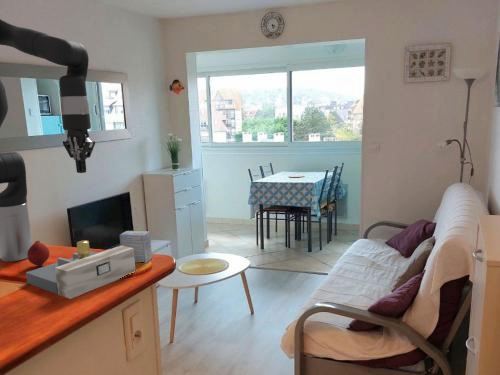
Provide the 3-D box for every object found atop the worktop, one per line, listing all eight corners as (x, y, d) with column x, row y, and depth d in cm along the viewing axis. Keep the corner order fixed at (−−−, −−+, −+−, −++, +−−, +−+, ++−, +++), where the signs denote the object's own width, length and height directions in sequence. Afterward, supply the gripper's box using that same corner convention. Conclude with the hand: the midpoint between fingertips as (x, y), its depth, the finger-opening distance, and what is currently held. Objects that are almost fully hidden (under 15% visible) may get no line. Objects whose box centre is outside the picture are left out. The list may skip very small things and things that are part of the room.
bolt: (73, 267, 113) (71, 241, 112) (83, 263, 116) (81, 239, 115) (99, 274, 107) (96, 248, 106) (108, 270, 109) (106, 244, 108)
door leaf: (27, 283, 112) (24, 264, 111) (92, 260, 128) (91, 244, 127) (57, 294, 104) (54, 274, 103) (122, 268, 120) (121, 251, 119)
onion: (41, 270, 121) (38, 243, 120) (24, 269, 122) (20, 242, 121) (54, 263, 127) (51, 237, 126) (38, 262, 128) (34, 237, 127)
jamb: (58, 294, 104) (54, 267, 102) (123, 269, 120) (121, 245, 119) (69, 299, 101) (66, 271, 100) (135, 272, 117) (133, 248, 116)
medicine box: (152, 258, 128) (150, 231, 127) (146, 263, 124) (143, 235, 122) (128, 257, 130) (126, 230, 128) (121, 262, 125) (119, 234, 124)
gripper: (50, 114, 122) (57, 173, 125) (77, 112, 114) (83, 175, 117) (73, 113, 128) (79, 170, 131) (101, 112, 120) (106, 172, 123)
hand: (81, 172), depth 124 cm, fingers closed
